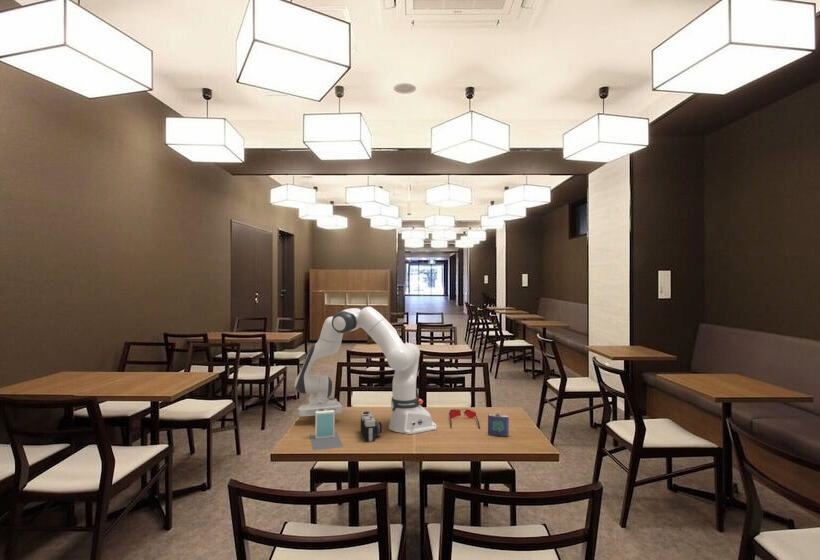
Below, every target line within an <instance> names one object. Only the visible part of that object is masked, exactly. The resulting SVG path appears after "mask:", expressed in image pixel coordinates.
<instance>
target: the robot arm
mask: <svg viewBox="0 0 820 560" xmlns="http://www.w3.org/2000/svg"><path fill="white" fill-rule="evenodd" d="M358 329H363V330H364V332H366V334H367V335H368V336H369V337H370V338H371V339H372V340H373V341H374V343H376V345H377V346H378V347H379V349H380V350H381V352H382V353H383V356H384V357H385V358H386V360H387V364H388V366H389V367H390V368H391V369H392V370H394V374H393V378H392V397H391V401H390V402H391V404H390V405H391V407H390V409H391V415H390V422H389V425H388V429H389V430H390V431H392V432H394V433H395V432H397V433H401V434H406V435H414V434H419V433H425V432H430V431H436V430H437V428H438V427H437V424H436V423H435V422H434V421H433V419H432V416H431V414H430V412H429V411H428V410H427V409H425V408H424V407H423V406H422V405H423V403H424V400H423V399H421V398H419V397H417V378H418V377H417V376H418V371H419V370H418V369H419V362H420V361H419V360H420V356H421V351H420V348H419V346H417V344H414V343H411V342H405V343H404V342H403V340H402V339H401V337H400V336H399V334H398V332H397V329H395V327H393V325H392V324H391V323H390V322H389V321H388V320H387V318H385V317H384V316H383V315H382V313H380V312H379V311H378V310H376V309H375V308H374V307H372V306H365V307H363V308H362V307H359V306H358V307H357V306H356V307H352V308H351V307H350V308H345V309H343V310H341V311H338V312H337V313H335V314H334V315H332V316H328V317H327V318H325V321H324V323H323V324H322V328H321V331H320V335H319V338H318V340H317V341H316V343H314V344H312V345H311V346H310V347H309V349H308V352H307V354H306V356H305V358H304V361H303V362H302V363H303V364H302V366H301V368H300V370H299V373H298V375H297V377H296V378H295V380H294V389H295V391H296V392H297V393H299V394H300V395H301V394H304V395H305V394H308V395H309V394H310V396H309V397H308V404H302V405H300V406H299V407H298V408H297V411H298V416H299V417H312V416H314V417H315V411H328V410H334V411H335V415H337V414H338V415H340V414H342V412H343V405H342V404H341V403H340V402H339V401H338V399H337V398H333V397H331V395H332V393H333V392H332V391H333V382H332V379H331V377H330V376H329V375H322V374H321V375H320V374H312V373H310V370H311V368H312V365H313V363H314V362H315V361H316V360H318V359H320V358H324V357H331V356H332V355H334V354H336V353H337V352H338V351H339V350H340V348H341V346H342V342H343V341H342V340H343V336H344V334H347V333H349V332H350V333H351V332H354V331H357V330H358ZM330 397H331V398H330Z"/></svg>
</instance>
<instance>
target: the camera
mask: <svg viewBox="0 0 820 560" xmlns="http://www.w3.org/2000/svg"><path fill="white" fill-rule="evenodd" d="M382 427H383V426H382V422H381V421H376V420H375V418H374V417H373V415H372V413H371V412H370V411H361V413H360V432H361V435H362V437H363V439H364V442H365V443H373V442H375V441H376V436H377V435H382V432H383V428H382Z"/></svg>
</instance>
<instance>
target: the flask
mask: <svg viewBox="0 0 820 560" xmlns="http://www.w3.org/2000/svg"><path fill="white" fill-rule="evenodd" d="M509 421H510V417H509V416H508V415H503V414H502V415H501V411H497V412H496V413H489V414H488V416H487V435H488V436H490V437H499V438H500V437H504V438H508V437H509V436H510V435H509V431H510V429H509V428H510V425H509V423H510V422H509Z"/></svg>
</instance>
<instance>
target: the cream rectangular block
mask: <svg viewBox="0 0 820 560" xmlns="http://www.w3.org/2000/svg"><path fill="white" fill-rule="evenodd" d="M335 415H336V414H335V411H334V410H328V411H315V416H314V417H315V419H314V424H315V425H314V426H315V428H314V429H315V431H314V435H315V438H327V437H334V433H335V418H336V417H335Z"/></svg>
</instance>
